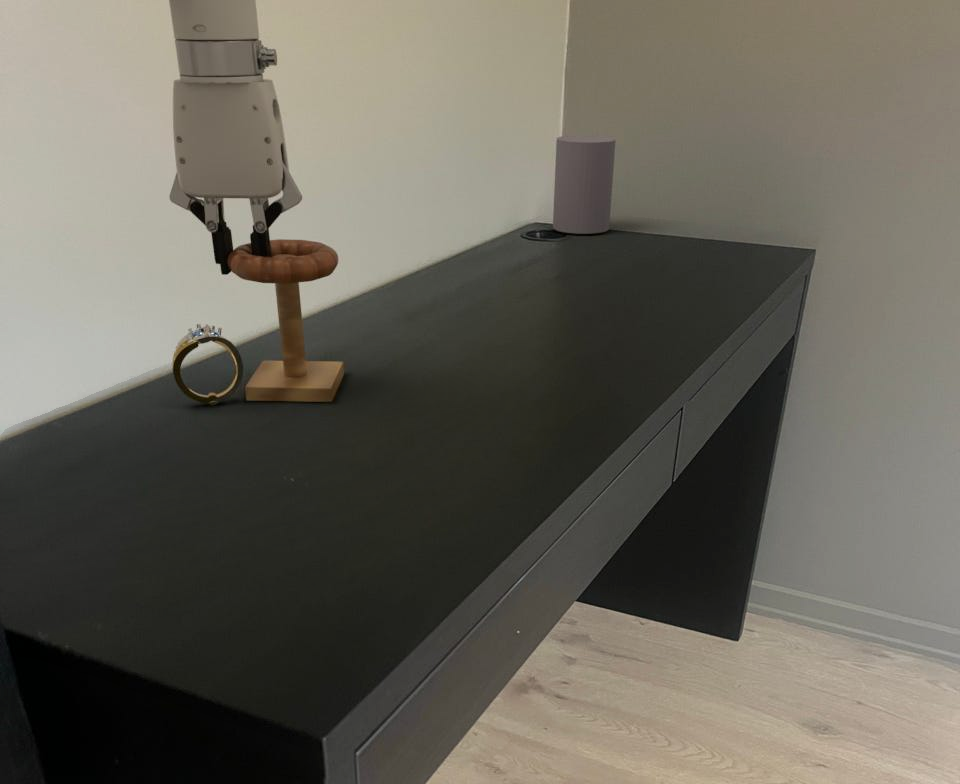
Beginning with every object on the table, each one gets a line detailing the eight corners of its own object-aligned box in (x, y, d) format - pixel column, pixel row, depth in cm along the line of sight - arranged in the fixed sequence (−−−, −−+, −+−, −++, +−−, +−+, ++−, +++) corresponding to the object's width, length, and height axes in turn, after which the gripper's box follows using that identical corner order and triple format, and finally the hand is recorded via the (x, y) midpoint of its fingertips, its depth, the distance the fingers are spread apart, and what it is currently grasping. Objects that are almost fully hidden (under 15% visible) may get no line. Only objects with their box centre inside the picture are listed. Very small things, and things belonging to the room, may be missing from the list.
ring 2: (218, 284, 96) (215, 259, 95) (243, 260, 105) (241, 236, 104) (329, 287, 96) (327, 261, 95) (344, 262, 105) (343, 238, 104)
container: (619, 229, 182) (626, 138, 174) (590, 238, 175) (596, 144, 167) (571, 222, 187) (576, 133, 179) (541, 230, 180) (545, 139, 172)
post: (246, 400, 103) (229, 266, 96) (264, 373, 111) (249, 246, 103) (331, 402, 103) (321, 267, 96) (344, 374, 111) (335, 247, 103)
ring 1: (245, 395, 105) (236, 319, 100) (249, 405, 102) (239, 327, 98) (178, 402, 103) (165, 324, 98) (179, 412, 100) (166, 333, 96)
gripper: (315, 61, 93) (330, 264, 104) (145, 60, 94) (176, 262, 104) (300, 66, 87) (318, 281, 97) (118, 64, 87) (154, 279, 98)
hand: (244, 270), depth 100 cm, fingers closed on ring 2, 2 cm apart
